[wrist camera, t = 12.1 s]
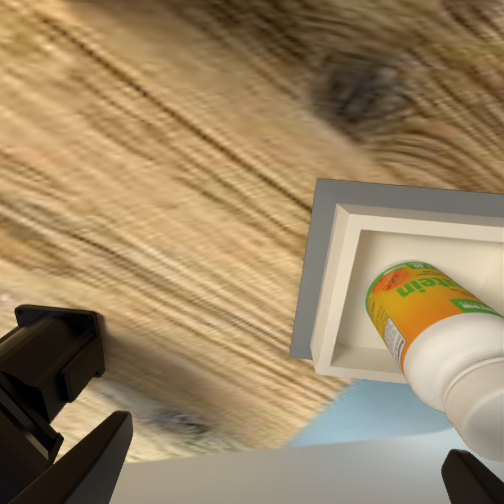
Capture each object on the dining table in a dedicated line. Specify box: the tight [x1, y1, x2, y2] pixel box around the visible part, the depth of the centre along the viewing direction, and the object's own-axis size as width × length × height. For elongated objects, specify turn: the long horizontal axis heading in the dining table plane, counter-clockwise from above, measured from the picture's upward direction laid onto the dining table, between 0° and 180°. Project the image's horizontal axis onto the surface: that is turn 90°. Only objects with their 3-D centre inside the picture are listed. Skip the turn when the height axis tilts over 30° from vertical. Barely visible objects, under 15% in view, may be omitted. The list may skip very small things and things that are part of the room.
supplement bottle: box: [364, 260, 504, 462], centre depth 15 cm, size 5×5×10 cm
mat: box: [289, 178, 504, 360], centre depth 20 cm, size 14×14×1 cm
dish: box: [310, 203, 504, 384], centre depth 18 cm, size 11×11×3 cm
